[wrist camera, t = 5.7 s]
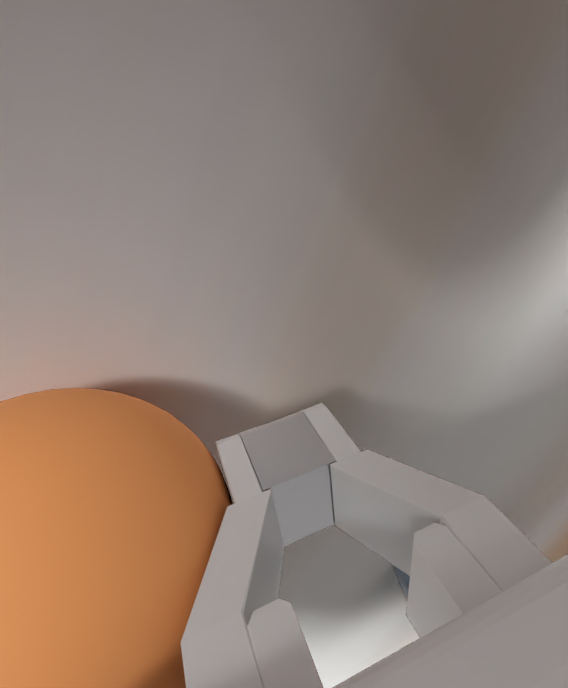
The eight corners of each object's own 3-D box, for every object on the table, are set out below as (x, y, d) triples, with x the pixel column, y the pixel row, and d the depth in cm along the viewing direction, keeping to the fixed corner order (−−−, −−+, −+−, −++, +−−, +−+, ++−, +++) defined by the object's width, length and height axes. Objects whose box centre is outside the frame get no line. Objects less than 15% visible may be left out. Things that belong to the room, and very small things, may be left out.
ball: (92, 295, 9) (-372, 472, 5) (311, 421, 5) (-521, 1231, 2) (146, 467, 12) (-96, 650, 8) (300, 605, 9) (23, 1003, 5)
